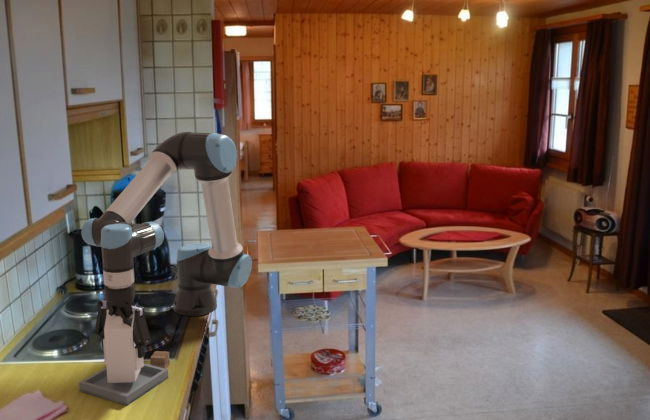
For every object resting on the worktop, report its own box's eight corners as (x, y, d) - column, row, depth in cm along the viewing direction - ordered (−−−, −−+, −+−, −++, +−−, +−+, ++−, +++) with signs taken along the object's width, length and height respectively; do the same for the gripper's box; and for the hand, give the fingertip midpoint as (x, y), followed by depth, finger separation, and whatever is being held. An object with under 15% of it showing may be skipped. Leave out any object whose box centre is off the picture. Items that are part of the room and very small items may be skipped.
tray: (123, 365, 173) (122, 357, 172) (168, 377, 166) (168, 369, 166) (79, 391, 158) (78, 382, 158) (127, 405, 152) (126, 396, 151)
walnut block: (155, 363, 174) (155, 351, 173) (169, 364, 174) (169, 351, 173) (151, 370, 170) (150, 357, 170) (165, 371, 170) (164, 358, 169)
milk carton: (114, 370, 165) (110, 304, 161) (141, 369, 166) (137, 304, 161) (107, 383, 158) (102, 315, 154) (135, 382, 159) (131, 314, 155)
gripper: (75, 281, 157) (81, 361, 162) (143, 295, 148) (147, 379, 153) (97, 273, 164) (102, 350, 169) (163, 286, 155) (166, 366, 160)
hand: (124, 364), depth 161 cm, fingers closed on milk carton, 10 cm apart
